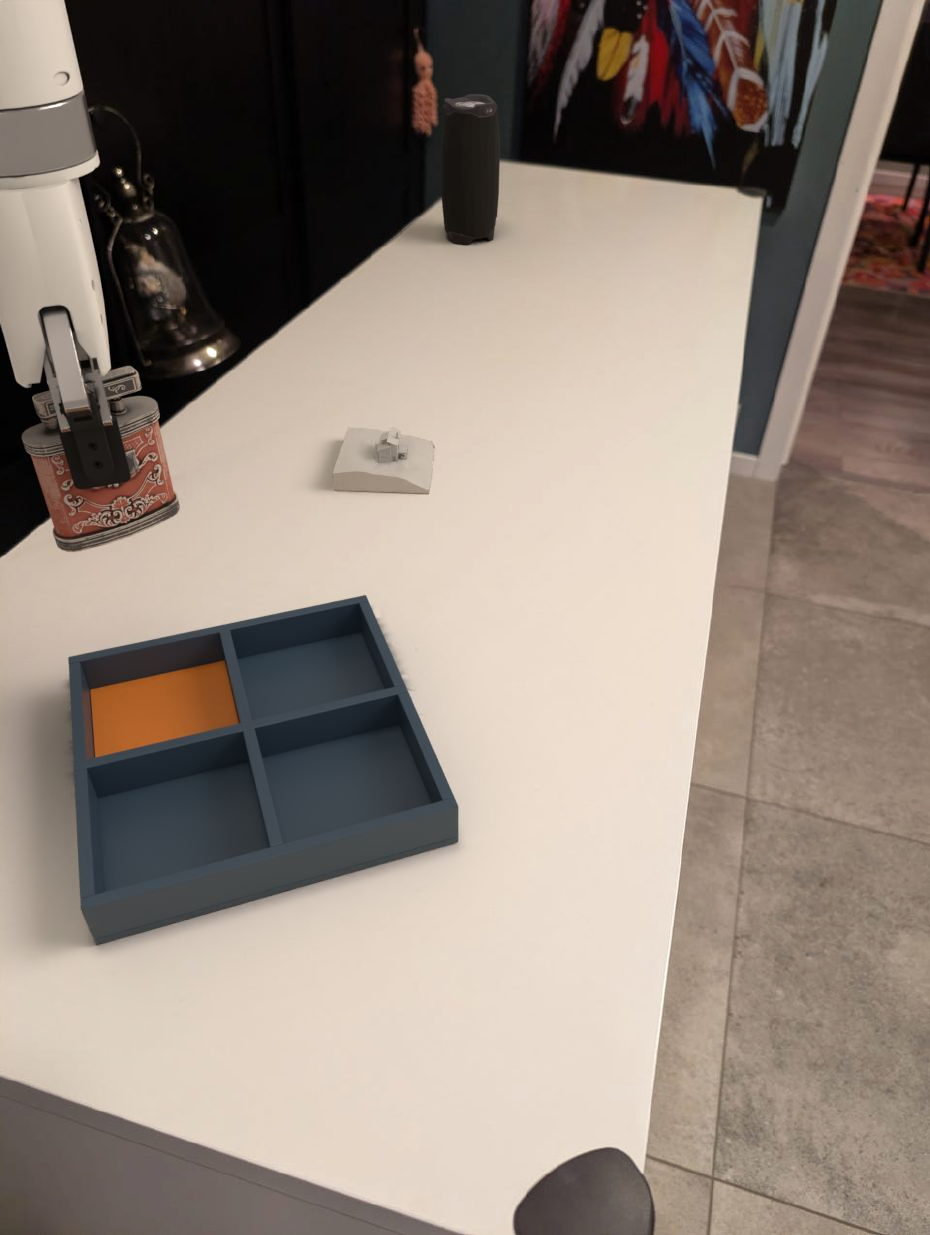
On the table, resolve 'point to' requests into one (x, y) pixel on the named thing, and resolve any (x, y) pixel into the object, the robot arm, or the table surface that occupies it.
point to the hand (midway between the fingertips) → (100, 460)
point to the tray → (246, 766)
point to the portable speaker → (470, 168)
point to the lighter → (111, 507)
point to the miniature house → (383, 462)
